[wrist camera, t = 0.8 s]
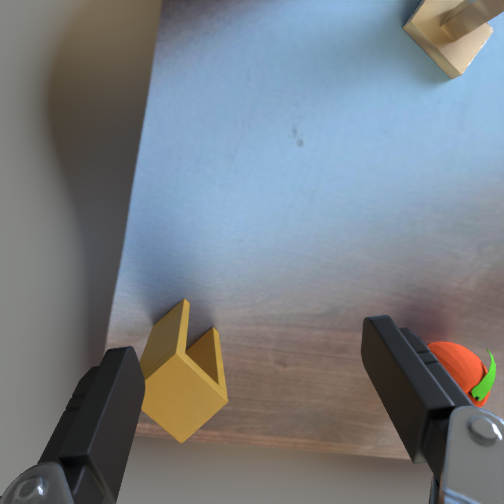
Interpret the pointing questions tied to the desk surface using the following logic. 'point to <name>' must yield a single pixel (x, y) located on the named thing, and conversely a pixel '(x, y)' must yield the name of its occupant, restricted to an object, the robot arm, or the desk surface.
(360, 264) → the desk surface
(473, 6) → the rack
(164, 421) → the yellow goalpost frame
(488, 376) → the clementine
